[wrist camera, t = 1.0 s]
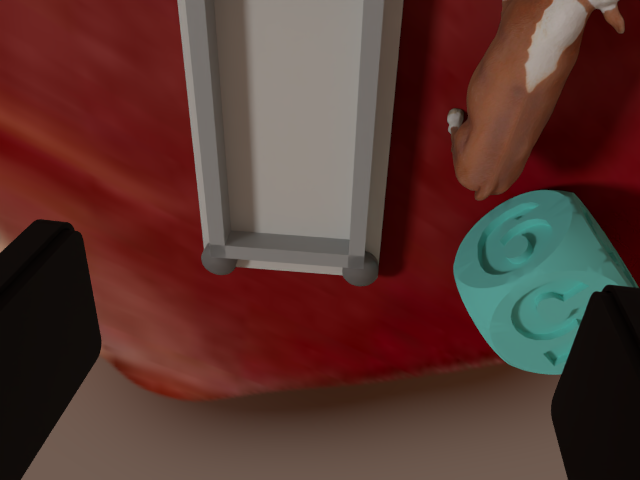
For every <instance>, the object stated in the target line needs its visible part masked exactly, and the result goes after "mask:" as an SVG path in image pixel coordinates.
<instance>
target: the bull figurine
mask: <svg viewBox="0 0 640 480" xmlns="http://www.w3.org/2000/svg"><path fill="white" fill-rule="evenodd" d="M618 1H619V0H503V1H502V6H503V9H502V13H501V22H500V25H499V28H498V32H497V35H496V37H495V38H494V40H493V41H492V43H491V45H490V46H489V48H488V50H487V51H486V53H485V55H484V57H483V58H482V60H481V61H480V63H479V65H478V66H477V68H476V70H475V71H474V73H473V76H472V78H471V80H470V83H469V86H468V91H467V112H468V119H467V120H466V121H465V122H464V123H463V124H462V122H463V116H464V113H463V111H462V110H461V109H455V108H454V109H452V110H450V112H449V114H448V118H447V121H448V123H449V128H448V131H449V132H450V133H451V141H452V149H451V152H452V153H453V162H454V168H455V173H456V177H457V179H458V181H459V182H460V183H461V184H462V185H463V186H465V187H466V188H467V189H469V190H474V191H475V199H476V200H484V199H485V198H487V197H488V196H489V195H497V194H501V193H503V192H505V191H506V190H507V189H508V188H509V187H510V186H511V185H512V184H513V183H514V182H515V181H516V180H517V179H518V177H519V176H520V174H521V173H522V171H523V169H524V166H525V163H526V161H527V159H528V157H529V155H530V153H531V151H532V148H533V147H534V145H535V143H536V142H537V140H538V138H539V136H540V134H541V132H542V130H543V128H544V127H545V125H546V124H547V122H548V120H549V118H550V116H551V114H552V112H553V110H554V108H555V105H556V103H557V101H558V98H559V96H560V94H561V91H562V89H563V87H564V84H565V82H566V80H567V78H568V76H569V74H570V72H571V70H572V68H573V66H574V65H575V63H576V60H577V57H578V54H579V49H580V44H581V40H582V36H583V32H584V27H585V25H586V22H587V20H588V18H589V16H590V14H591V13H592V11H593V10H594V9H600V10H601V11H602V13H603V16H604V18H605V20H606V21H607V22H608V23H609V24H610V25H612V26H613V27H614V29H615V30H616V31H617V32H618V33H620V34H622V33H624V31H625V25H624V19H623V17H622V15H621V14H620V12H619V10H618V5H617V2H618Z"/></svg>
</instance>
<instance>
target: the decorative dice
mask: <svg viewBox="0 0 640 480" xmlns="http://www.w3.org/2000/svg"><path fill="white" fill-rule="evenodd" d="M454 277H455V281H456V284H457V288H458V290H459V293H460V296H461V298H462V300H463V303H464V305H465V307H466V309H467V311H468V313H469V315H470V316H471V318H472V320H473V322H474V323H475V325H476V327H477V328H478V330H479V331H480V333H481V334H482V336H483V337H484V339H485V340H486V341H487V343H488V344H489V345H490V346H491V348H492V349H493V350H494V351H495V352H496V353H497V354H498V355H499V357H501V358H502V359H503V360H504V361H505V362H506V363H508V364H509V365H511V366H514V367H516V368H519V369H522V370H526V371H530V372H534V373H541V374H562V372H563V369H564V366H565V364H566V361H567V358H568V355H569V353H570V350H571V347H572V345H573V342H574V339H575V337H576V334H577V331H578V329H579V326H580V323H581V320H582V318H583V315H584V312H585V310H586V307H587V304H588V302H589V299H590V297H591V295H592V293H593V292H595V291H599V292H602V290H603V288H604V287H605V286H606V285H618V286H627V287H635V288H638V286H637V284H636V282H635V280H634V279H633V277H632V275H631V274H630V272H629V270H628V269H627V267H626V265H625V264H624V262H623V261H622V259H621V257H620V256H619V254H618V253H617V251H616V250H615V248H614V247H613V245H612V244H611V242H610V241H609V239H608V238H607V236H606V235H605V233H604V232H603V230H602V229H601V227H600V226H599V224H598V223H597V222H596V220H595V219H594V217H593V216H592V215H591V213H590V212H589V211H588V209H587V208H586V207H585V205H584V204H583V203H582V202H581V200H580V199H579V198H578V197H577V196H576V195H575V194H574V193H572V192H567V191H559V190H537V191H532V192H528V193H524V194H521V195H518V196H516V197H514V198H511V199H509V200H507V201H505V202H504V203H502V204H500V205H499V206H497V207H495V208H494V209H493V210H491V211H490V212H489V213H487V214H486V215H485V216H484V217H483V218H481V219H480V220H479V221H478V222H477V223H476V224H475V225H474V226H473V227H472V229H471V230H470V231H469V232H468V234H467V235H466V236H465V238H464V239H463V241H462V243H461V245H460V247H459V249H458V251H457V254H456V258H455V262H454Z"/></svg>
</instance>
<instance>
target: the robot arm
mask: <svg viewBox="0 0 640 480" xmlns="http://www.w3.org/2000/svg"><path fill="white" fill-rule="evenodd" d="M100 350H101V335H100V329H99V324H98V319H97V313H96V308H95V302H94V297H93V291H92V286H91V280H90V275H89V269H88V264H87V258H86V253H85V247H84V242H83V238H82V235H81V233H80V232H78V231H75V230H74V228H73V226H72V225H71V224H70V223H68V222H59V221H51V220H42V219H39V220H36V221H34V222H33V223H32V224H31V225H30V226H29V227H27V228H26V229H25V230H24V231H23V232H22V233H21V234H20V235H19V236H18V237H17V238H16V239H15V240H14V241H13V242H11V243H10V244H9V245H8V246H7V247H6V248H5V249H4V250H3V251H2V252H1V253H0V480H21V478H22V477H23V475H24V473H25V472H26V470H27V469H28V467H29V466H30V464H31V462H32V461H33V459H34V458H35V456H36V455H37V453H38V451H39V450H40V448H41V447H42V445H43V444H44V442H45V440H46V439H47V437H48V436H49V434H50V433H51V431H52V429H53V428H54V426H55V425H56V423H57V422H58V420H59V418H60V417H61V415H62V414H63V412H64V411H65V409H66V407H67V406H68V404H69V403H70V401H71V400H72V398H73V396H74V395H75V393H76V392H77V390H78V389H79V387H80V385H81V384H82V382H83V380H84V379H85V377H86V376H87V374H88V372H89V371H90V370H91V368H92V366H93V365H94V363H95V362H96V360H97V358H98V356H99V354H100ZM551 416H552V421H553V425H554V428H555V432H556V436H557V440H558V443H559V447H560V451H561V455H562V459H563V462H564V466H565V470H566V474H567V477H568V480H640V288H635V287H627V286H618V285H606V286H605V287H604V288H603V290H602V292H599V291H595V292H593V293H592V295H591V297H590V299H589V302H588V304H587V307H586V310H585V312H584V315H583V318H582V320H581V323H580V326H579V329H578V331H577V334H576V337H575V339H574V342H573V345H572V347H571V350H570V353H569V355H568V358H567V361H566V364H565V366H564V369H563V372H562V374H561V377H560V380H559V382H558V385H557V388H556V390H555V393H554V396H553V399H552V405H551Z"/></svg>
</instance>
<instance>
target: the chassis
mask: <svg viewBox="0 0 640 480" xmlns="http://www.w3.org/2000/svg"><path fill="white" fill-rule="evenodd" d="M178 10H179V19H180V28H181V38H182V47H183V56H184V66H185V75H186V84H187V94H188V103H189V112H190V122H191V131H192V140H193V150H194V159H195V168H196V178H197V187H198V197H199V206H200V215H201V225H202V234H203V243H204V251H203V253H202V256H201V260H202V263H203V265H204V267H205V268H206V269H207V270H209V271H210V272H212V273H214V274H218V275H225V274H229V273H231V272H232V271H233V270H234V269H235V267H246V268H258V269H271V270H283V271H296V272H309V273H321V274H334V275H343V277H344V278H345V280H346V281H348V282H349V283H350V284H352V285H356V286H366V285H369V284H371V283H373V282H374V281H375V280H376V278H377V277H378V266H379V255H380V245H381V234H382V223H383V213H384V202H385V192H386V181H387V170H388V160H389V149H390V138H391V128H392V117H393V106H394V96H395V85H396V75H397V64H398V53H399V43H400V32H401V21H402V11H403V0H178Z"/></svg>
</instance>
